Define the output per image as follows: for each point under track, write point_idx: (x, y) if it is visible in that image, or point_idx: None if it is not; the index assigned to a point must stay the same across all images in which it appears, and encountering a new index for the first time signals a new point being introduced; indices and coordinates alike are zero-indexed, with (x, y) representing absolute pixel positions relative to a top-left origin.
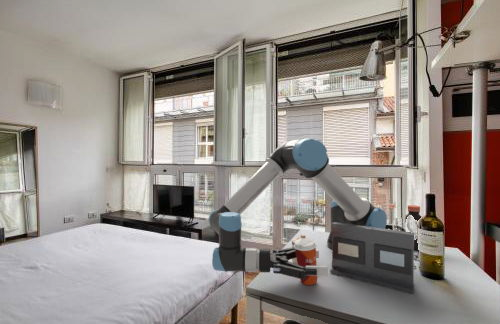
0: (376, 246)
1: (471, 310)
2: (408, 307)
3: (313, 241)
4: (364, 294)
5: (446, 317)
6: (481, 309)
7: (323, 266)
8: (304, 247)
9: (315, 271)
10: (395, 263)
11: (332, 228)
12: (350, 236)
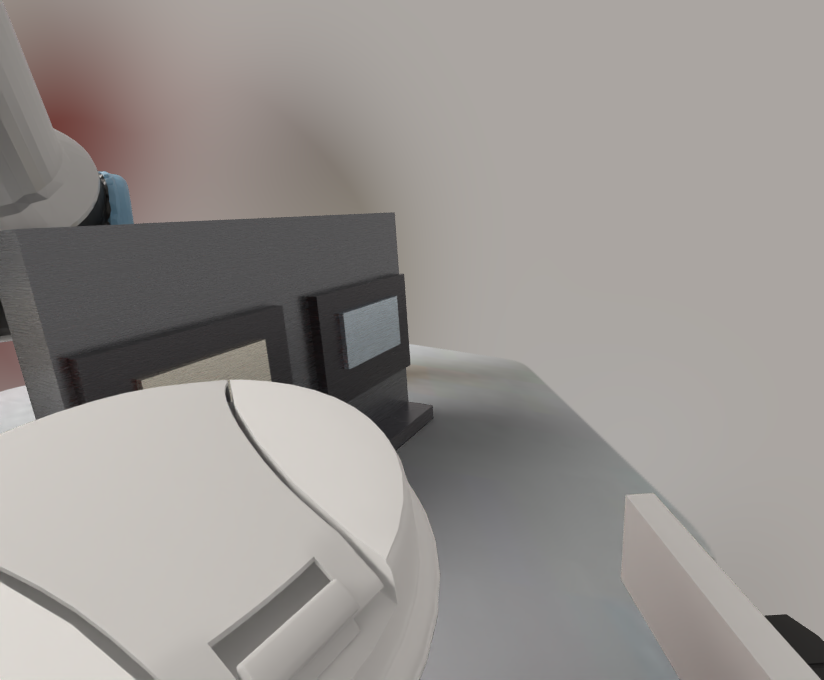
0: (326, 302)
1: (496, 371)
2: (531, 440)
3: (237, 387)
4: (469, 527)
5: (553, 400)
6: (485, 363)
7: (657, 521)
8: (409, 547)
9: (812, 644)
10: (384, 344)
11: (31, 280)
12: (195, 300)
